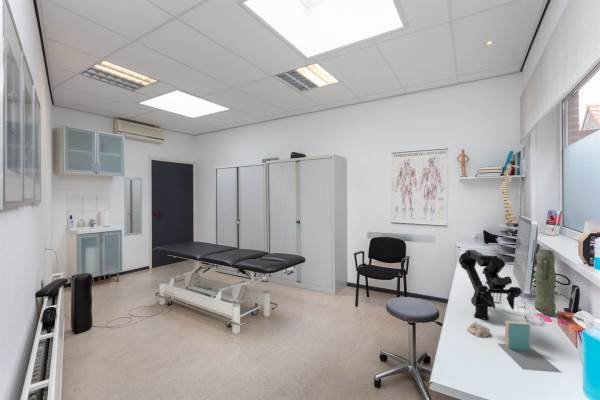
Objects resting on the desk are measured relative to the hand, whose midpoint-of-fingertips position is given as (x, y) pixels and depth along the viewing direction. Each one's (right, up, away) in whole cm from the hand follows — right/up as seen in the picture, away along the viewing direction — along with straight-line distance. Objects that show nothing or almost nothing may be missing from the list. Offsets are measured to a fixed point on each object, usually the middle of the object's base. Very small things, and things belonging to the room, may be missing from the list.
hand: (503, 308), depth 133 cm
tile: (-1, -13, -10) cm, 17 cm away
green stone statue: (+42, -13, +27) cm, 51 cm away
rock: (-9, -14, +4) cm, 17 cm away
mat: (-2, -14, -17) cm, 22 cm away
